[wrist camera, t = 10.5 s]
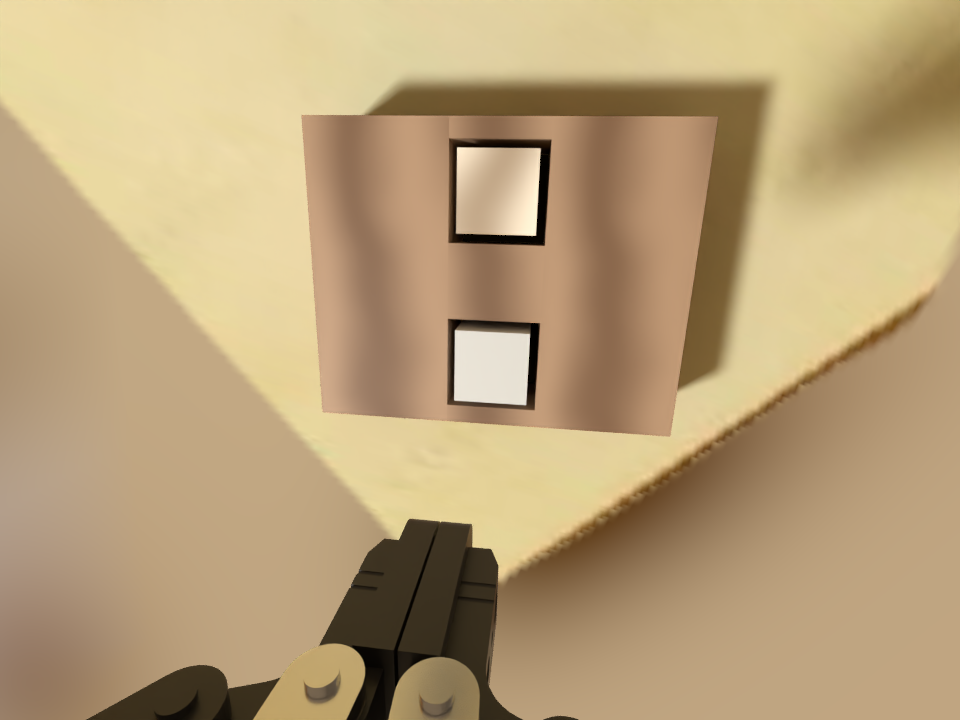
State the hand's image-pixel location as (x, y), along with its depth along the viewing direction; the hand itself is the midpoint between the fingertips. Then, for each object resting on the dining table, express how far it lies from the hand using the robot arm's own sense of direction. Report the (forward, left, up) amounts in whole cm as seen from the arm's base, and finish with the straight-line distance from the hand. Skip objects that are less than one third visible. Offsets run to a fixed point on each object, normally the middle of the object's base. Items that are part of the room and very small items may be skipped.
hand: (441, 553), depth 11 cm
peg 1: (0, -9, -20) cm, 22 cm away
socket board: (0, -5, -20) cm, 21 cm away
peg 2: (0, 0, -20) cm, 20 cm away
